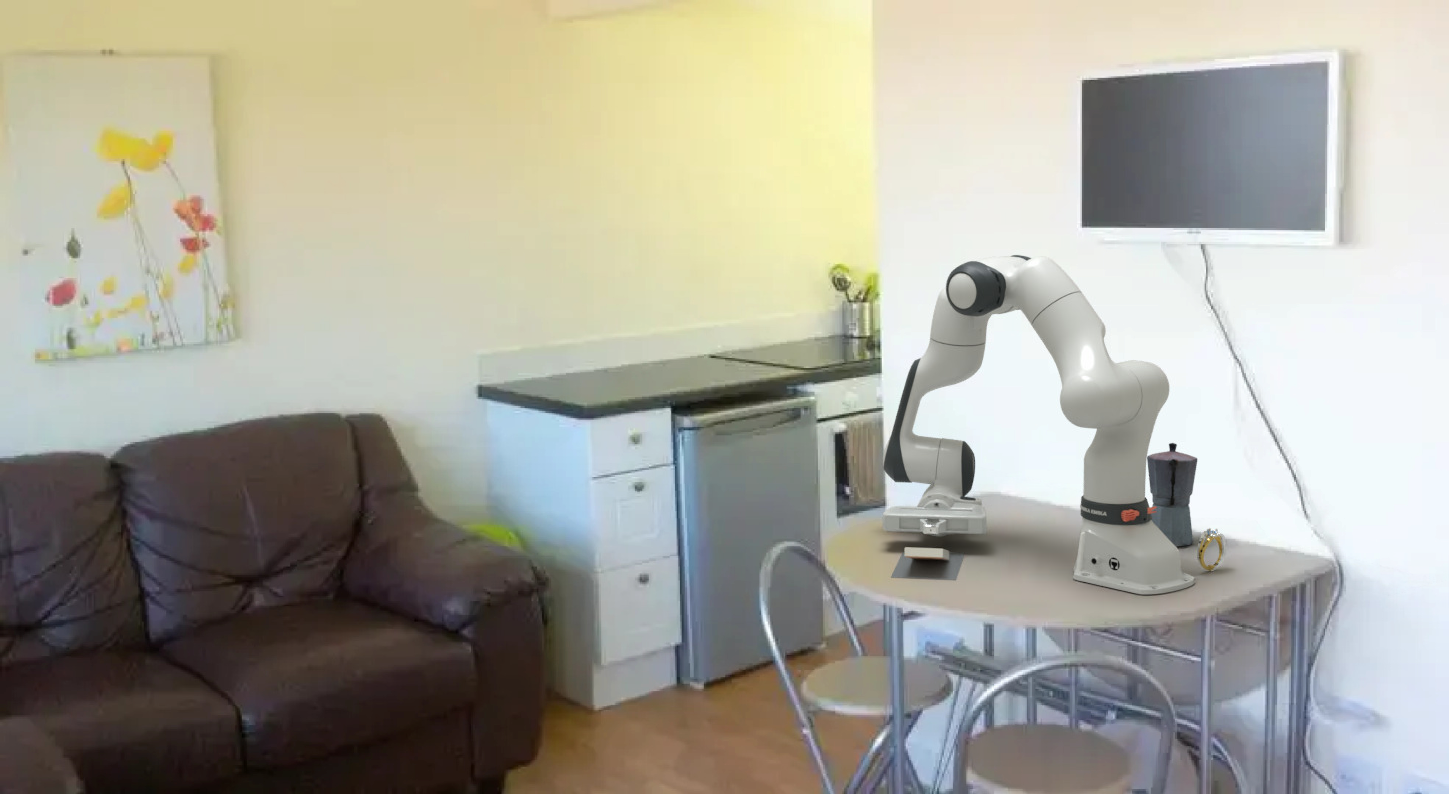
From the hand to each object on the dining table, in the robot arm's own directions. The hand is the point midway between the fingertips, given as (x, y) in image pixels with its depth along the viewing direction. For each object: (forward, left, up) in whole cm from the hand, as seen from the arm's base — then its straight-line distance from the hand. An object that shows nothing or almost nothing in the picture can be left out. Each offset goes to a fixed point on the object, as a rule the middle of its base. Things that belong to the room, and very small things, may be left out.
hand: (930, 530), depth 293 cm
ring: (-35, -38, -7) cm, 52 cm away
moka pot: (-17, -47, -7) cm, 50 cm away
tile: (+1, 0, -5) cm, 5 cm away
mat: (-2, +2, -6) cm, 7 cm away
